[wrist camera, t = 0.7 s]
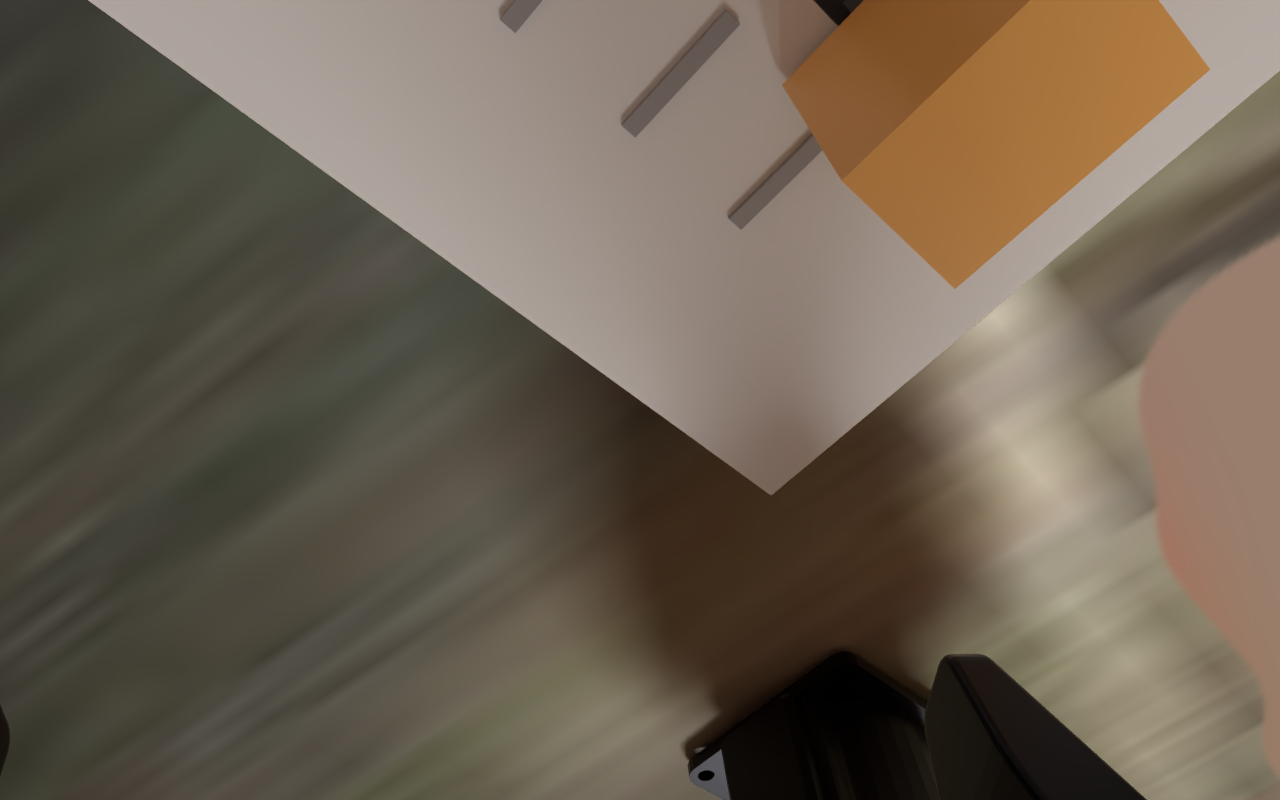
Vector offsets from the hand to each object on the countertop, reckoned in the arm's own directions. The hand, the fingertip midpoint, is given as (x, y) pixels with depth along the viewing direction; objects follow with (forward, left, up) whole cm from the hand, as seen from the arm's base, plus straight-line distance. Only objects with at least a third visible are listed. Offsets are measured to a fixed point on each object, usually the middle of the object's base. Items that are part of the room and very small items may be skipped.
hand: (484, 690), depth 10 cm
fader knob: (-3, -7, -13) cm, 15 cm away
